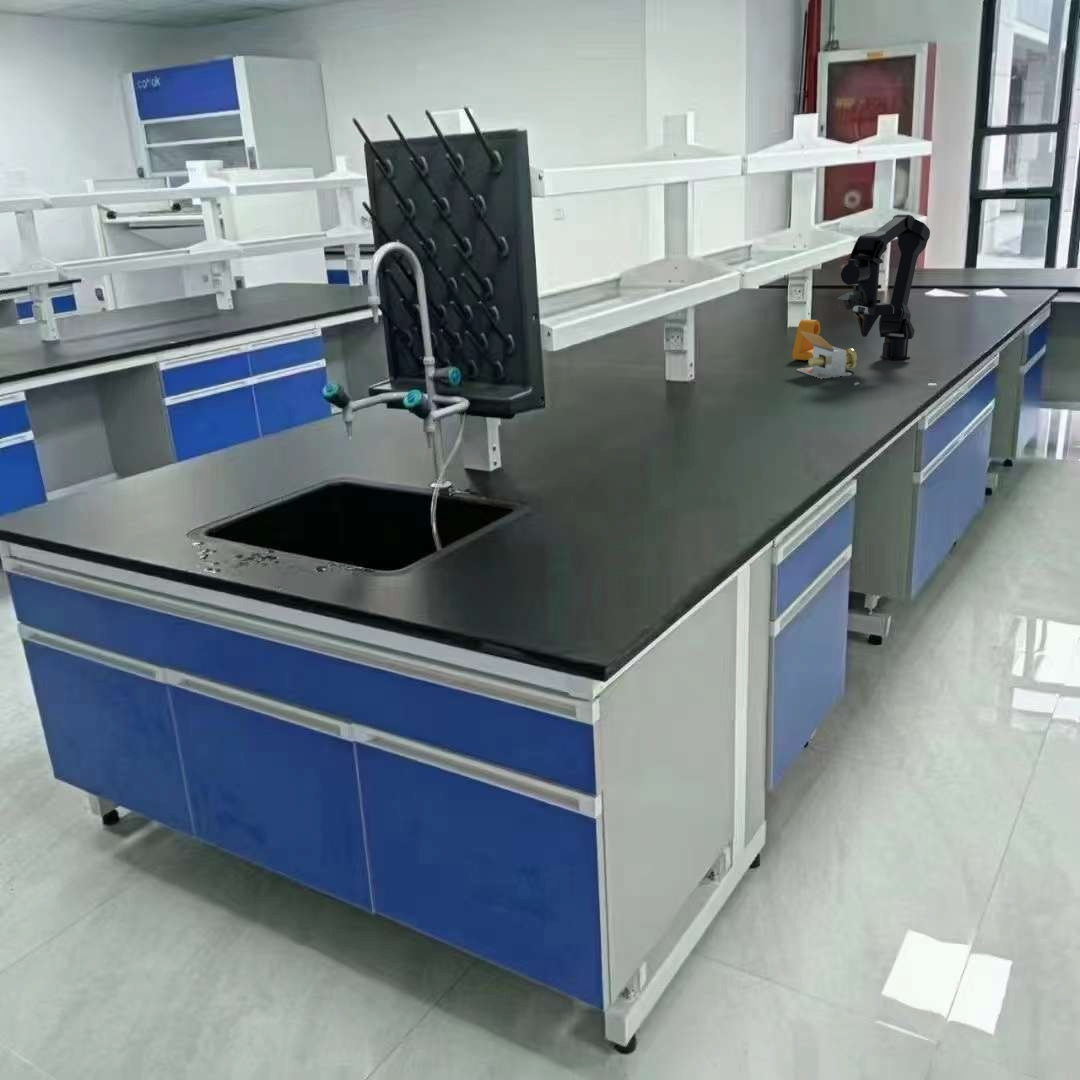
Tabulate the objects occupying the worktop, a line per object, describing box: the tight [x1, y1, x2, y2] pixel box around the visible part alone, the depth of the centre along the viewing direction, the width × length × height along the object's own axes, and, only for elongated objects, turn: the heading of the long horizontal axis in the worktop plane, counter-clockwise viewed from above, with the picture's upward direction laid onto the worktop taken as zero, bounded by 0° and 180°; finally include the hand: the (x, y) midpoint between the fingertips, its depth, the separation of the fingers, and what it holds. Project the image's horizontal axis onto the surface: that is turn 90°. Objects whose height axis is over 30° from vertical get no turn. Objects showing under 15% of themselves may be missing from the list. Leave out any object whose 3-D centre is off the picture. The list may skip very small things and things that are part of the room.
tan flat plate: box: [800, 331, 834, 352], centre depth 296 cm, size 6×10×1 cm
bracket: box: [792, 318, 821, 361], centre depth 318 cm, size 11×7×12 cm, turn 138°
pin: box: [807, 347, 858, 369], centre depth 299 cm, size 14×6×6 cm, turn 107°
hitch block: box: [796, 345, 853, 380], centre depth 299 cm, size 10×13×7 cm
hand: (864, 336), depth 300 cm, fingers closed
